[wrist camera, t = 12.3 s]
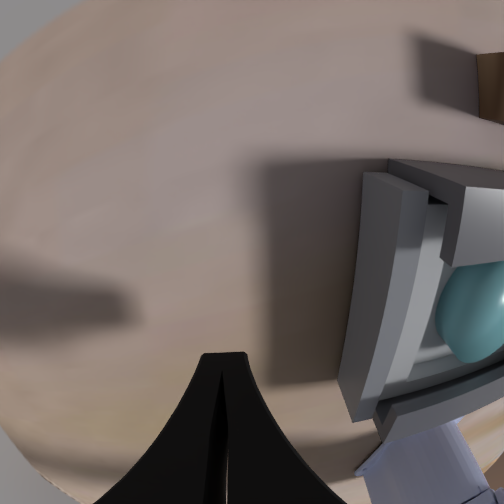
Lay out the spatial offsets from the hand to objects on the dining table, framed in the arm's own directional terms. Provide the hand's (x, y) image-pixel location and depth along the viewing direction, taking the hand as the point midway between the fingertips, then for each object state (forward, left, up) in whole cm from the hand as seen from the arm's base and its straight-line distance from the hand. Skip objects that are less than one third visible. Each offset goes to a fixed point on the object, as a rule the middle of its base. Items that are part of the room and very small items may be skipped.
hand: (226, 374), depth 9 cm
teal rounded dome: (+3, -12, -2) cm, 12 cm away
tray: (+3, -11, -4) cm, 13 cm away
